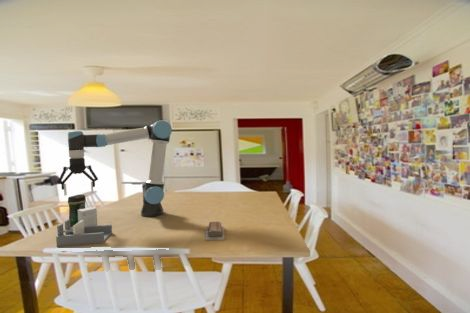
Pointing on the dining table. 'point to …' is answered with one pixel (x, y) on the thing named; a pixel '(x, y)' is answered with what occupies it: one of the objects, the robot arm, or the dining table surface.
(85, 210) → the small box
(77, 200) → the coffee jar
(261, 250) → the dining table surface
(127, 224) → the dining table surface
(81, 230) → the grey open holder
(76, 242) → the grey slotted tray
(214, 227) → the packaged product
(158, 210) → the robot arm
